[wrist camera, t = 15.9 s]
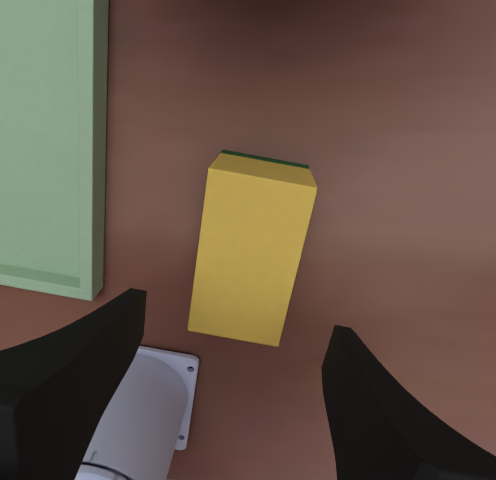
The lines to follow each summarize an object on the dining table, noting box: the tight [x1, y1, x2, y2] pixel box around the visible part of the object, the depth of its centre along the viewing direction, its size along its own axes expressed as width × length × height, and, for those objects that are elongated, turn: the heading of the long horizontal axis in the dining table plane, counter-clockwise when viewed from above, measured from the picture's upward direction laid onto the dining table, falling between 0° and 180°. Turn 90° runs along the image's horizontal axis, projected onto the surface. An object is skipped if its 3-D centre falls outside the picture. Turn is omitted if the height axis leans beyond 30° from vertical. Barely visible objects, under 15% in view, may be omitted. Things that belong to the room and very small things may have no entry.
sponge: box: [188, 150, 318, 347], centre depth 21 cm, size 9×5×5 cm, turn 170°
